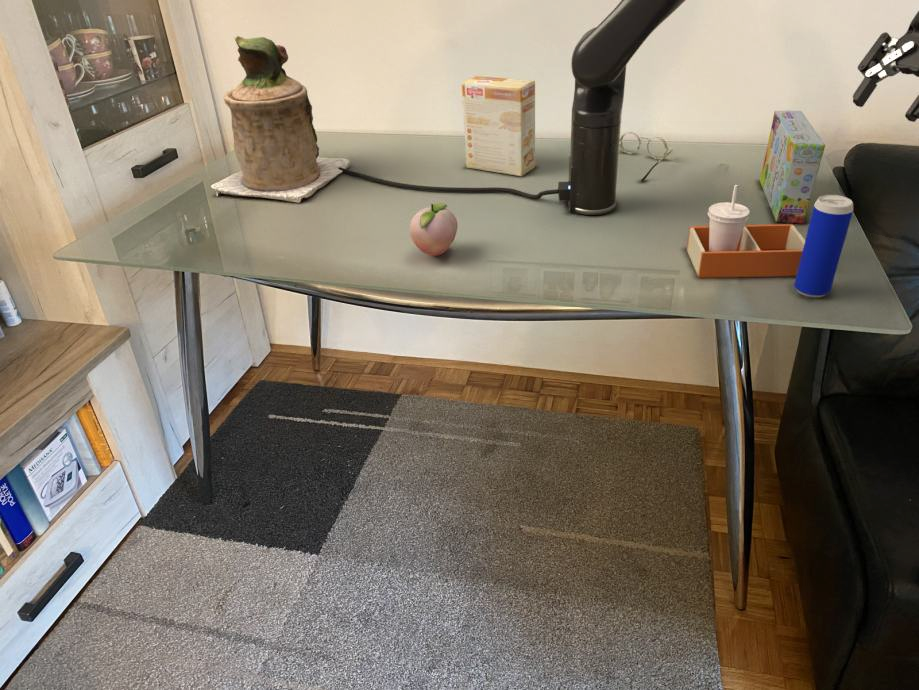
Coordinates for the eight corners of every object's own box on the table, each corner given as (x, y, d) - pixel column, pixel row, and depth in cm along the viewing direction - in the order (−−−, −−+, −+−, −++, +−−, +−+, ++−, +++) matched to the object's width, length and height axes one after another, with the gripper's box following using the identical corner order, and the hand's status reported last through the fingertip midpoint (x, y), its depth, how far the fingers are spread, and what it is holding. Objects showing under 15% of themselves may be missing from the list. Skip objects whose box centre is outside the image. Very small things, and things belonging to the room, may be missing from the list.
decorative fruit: (422, 242, 130) (417, 192, 125) (463, 245, 128) (460, 194, 123) (405, 265, 123) (399, 213, 117) (448, 269, 121) (444, 216, 115)
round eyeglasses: (677, 162, 157) (679, 140, 154) (644, 183, 148) (646, 160, 145) (612, 149, 167) (613, 128, 164) (577, 168, 157) (578, 146, 155)
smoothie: (719, 275, 113) (734, 195, 105) (692, 260, 118) (703, 182, 110) (748, 265, 116) (764, 185, 108) (720, 250, 120) (733, 174, 113)
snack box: (807, 224, 127) (827, 144, 118) (774, 223, 128) (792, 143, 119) (786, 181, 144) (802, 108, 135) (757, 181, 145) (772, 108, 136)
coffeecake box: (536, 167, 160) (536, 79, 149) (521, 177, 155) (520, 88, 144) (480, 158, 167) (477, 74, 156) (465, 168, 162) (460, 82, 151)
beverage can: (829, 285, 109) (855, 196, 100) (829, 301, 105) (855, 209, 96) (794, 280, 111) (816, 192, 102) (792, 295, 107) (815, 205, 98)
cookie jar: (304, 205, 149) (272, 47, 131) (209, 197, 156) (167, 47, 138) (353, 165, 168) (332, 23, 150) (267, 159, 175) (236, 23, 157)
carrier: (698, 277, 113) (702, 253, 111) (686, 249, 122) (689, 226, 119) (807, 276, 112) (813, 251, 109) (787, 247, 120) (792, 223, 117)
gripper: (899, -16, 99) (830, 89, 104) (1001, -4, 89) (918, 113, 93) (918, 10, 104) (850, 110, 109) (1016, 25, 93) (937, 135, 98)
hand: (882, 111), depth 101 cm, fingers open, 8 cm apart
